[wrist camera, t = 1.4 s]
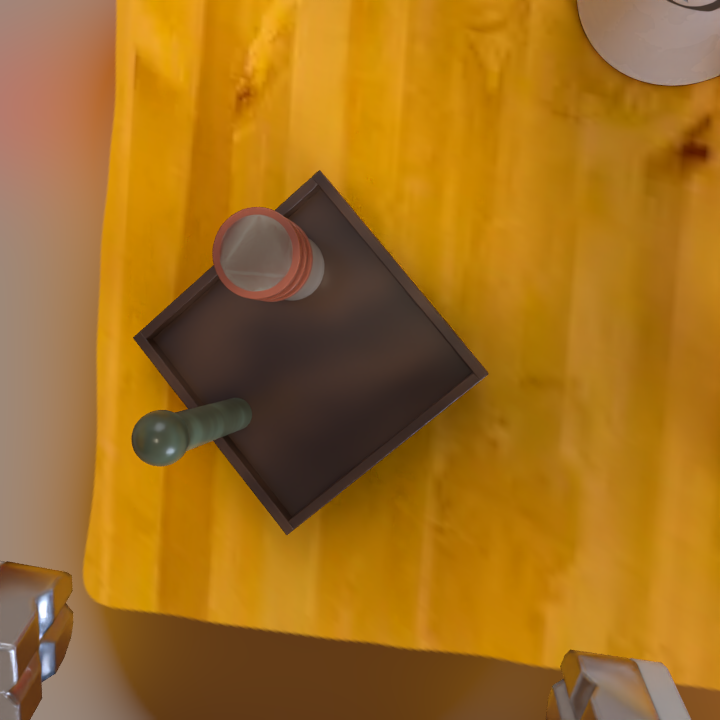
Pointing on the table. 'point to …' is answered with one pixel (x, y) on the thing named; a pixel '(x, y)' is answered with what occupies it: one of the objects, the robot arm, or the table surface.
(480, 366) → the tray
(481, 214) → the table surface
